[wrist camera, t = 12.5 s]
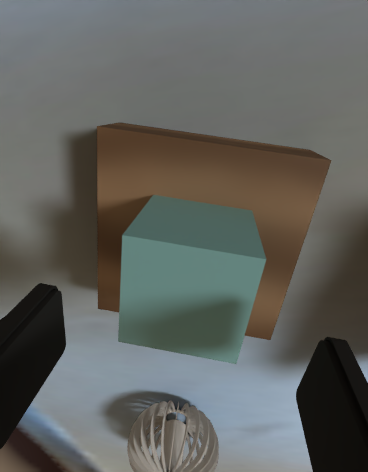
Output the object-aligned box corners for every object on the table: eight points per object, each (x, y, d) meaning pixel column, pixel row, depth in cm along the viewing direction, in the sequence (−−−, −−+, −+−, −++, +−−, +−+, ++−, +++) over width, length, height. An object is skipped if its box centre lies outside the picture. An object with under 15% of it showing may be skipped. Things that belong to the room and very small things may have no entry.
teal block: (153, 194, 17) (122, 235, 12) (252, 210, 17) (266, 259, 12) (146, 277, 20) (118, 341, 14) (232, 292, 20) (236, 363, 14)
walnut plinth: (119, 122, 20) (97, 126, 16) (310, 149, 19) (331, 160, 15) (115, 279, 25) (97, 308, 22) (263, 305, 24) (270, 340, 21)
